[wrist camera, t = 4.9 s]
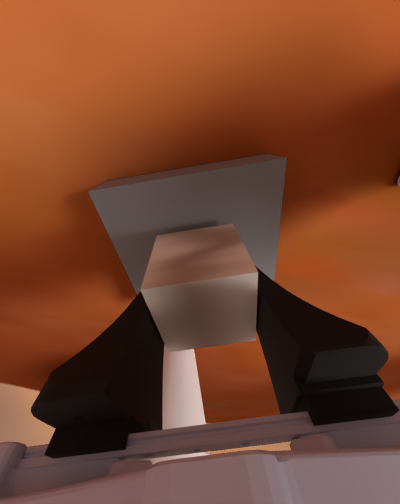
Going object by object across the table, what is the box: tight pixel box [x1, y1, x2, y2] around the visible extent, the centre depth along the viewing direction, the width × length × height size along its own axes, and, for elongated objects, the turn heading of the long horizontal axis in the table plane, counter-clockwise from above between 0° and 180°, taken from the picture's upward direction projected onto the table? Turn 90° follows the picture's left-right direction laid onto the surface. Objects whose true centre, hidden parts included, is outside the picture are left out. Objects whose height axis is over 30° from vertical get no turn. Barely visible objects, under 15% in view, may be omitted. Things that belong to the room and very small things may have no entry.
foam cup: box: [144, 344, 210, 464], centre depth 21 cm, size 10×9×13 cm
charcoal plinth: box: [88, 154, 287, 295], centre depth 15 cm, size 12×12×3 cm
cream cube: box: [140, 223, 258, 352], centre depth 11 cm, size 5×5×5 cm
